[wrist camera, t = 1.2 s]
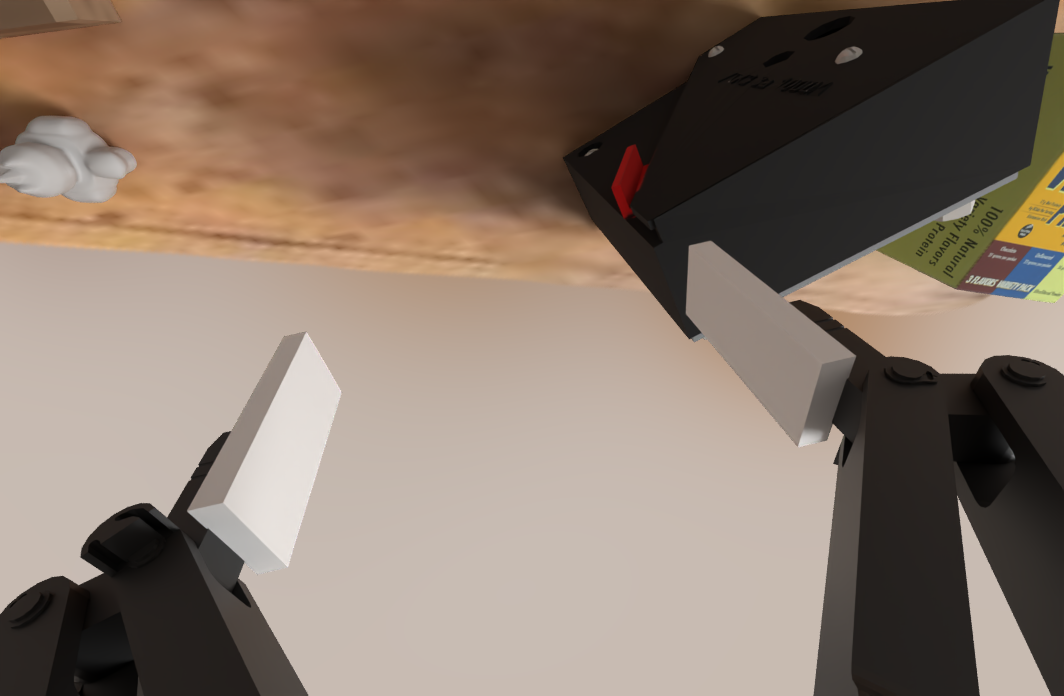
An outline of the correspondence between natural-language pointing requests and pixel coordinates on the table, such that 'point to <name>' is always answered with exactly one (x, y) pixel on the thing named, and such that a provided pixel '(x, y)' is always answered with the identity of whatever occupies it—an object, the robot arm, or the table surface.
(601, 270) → the table surface
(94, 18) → the holster
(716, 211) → the electrical component
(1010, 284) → the protein box
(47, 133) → the rubber duck
